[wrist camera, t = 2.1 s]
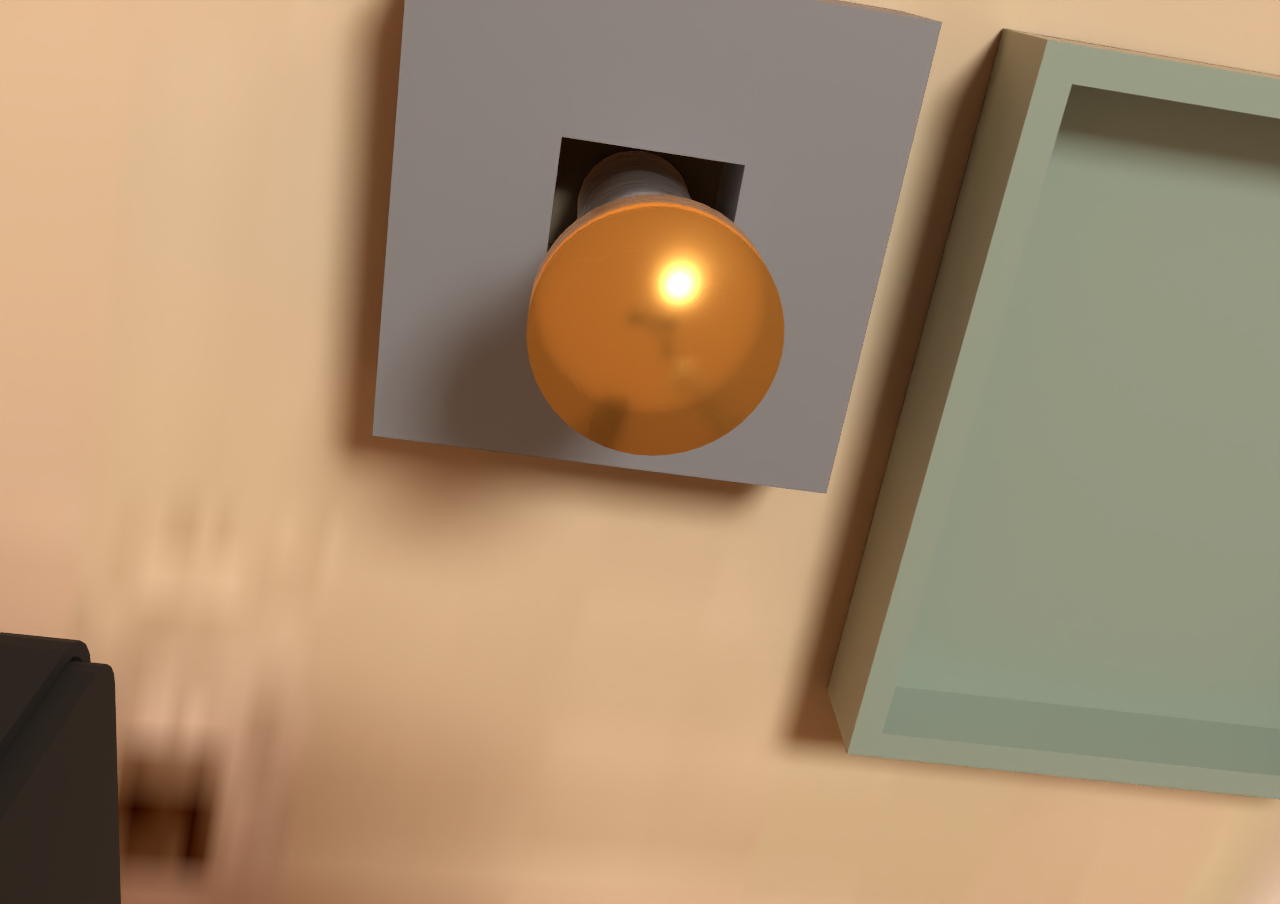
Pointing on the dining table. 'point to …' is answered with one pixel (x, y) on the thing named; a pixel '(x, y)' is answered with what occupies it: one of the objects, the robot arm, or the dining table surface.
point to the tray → (1089, 442)
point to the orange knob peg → (652, 314)
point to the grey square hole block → (651, 120)
